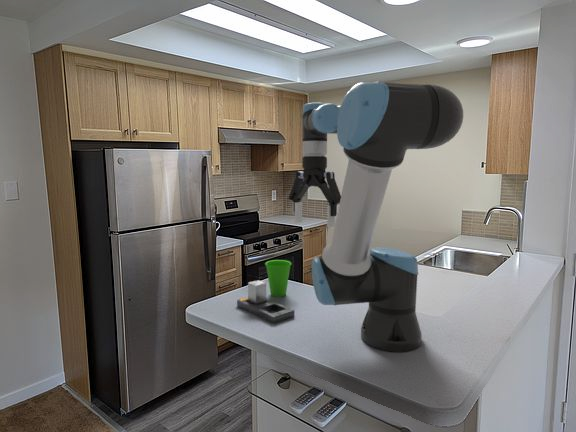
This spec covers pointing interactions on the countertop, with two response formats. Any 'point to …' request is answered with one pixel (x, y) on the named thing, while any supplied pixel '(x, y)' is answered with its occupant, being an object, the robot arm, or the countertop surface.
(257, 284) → the gray squarish block
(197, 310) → the countertop surface
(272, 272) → the cup
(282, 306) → the dark grey flat frame
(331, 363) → the countertop surface
